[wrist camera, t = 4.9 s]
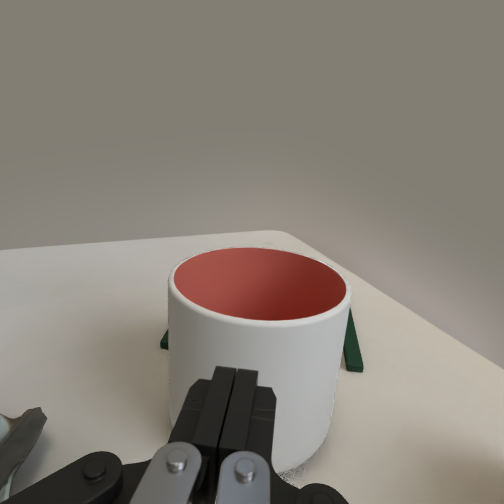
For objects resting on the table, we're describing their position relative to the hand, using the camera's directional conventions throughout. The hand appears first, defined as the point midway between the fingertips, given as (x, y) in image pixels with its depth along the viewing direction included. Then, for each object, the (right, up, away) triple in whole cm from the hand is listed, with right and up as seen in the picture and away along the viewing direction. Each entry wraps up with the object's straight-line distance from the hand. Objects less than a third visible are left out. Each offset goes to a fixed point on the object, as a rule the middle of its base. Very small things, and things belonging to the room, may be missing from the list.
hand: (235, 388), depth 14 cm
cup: (0, -6, +12) cm, 13 cm away
